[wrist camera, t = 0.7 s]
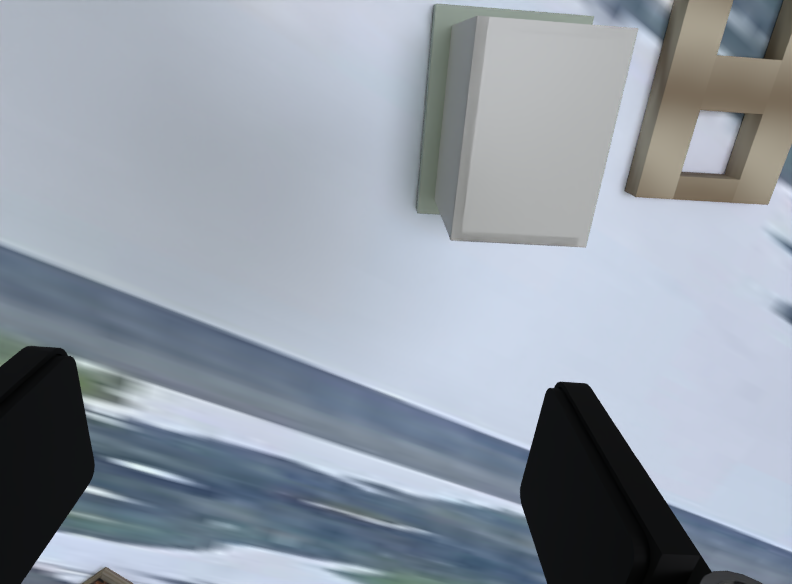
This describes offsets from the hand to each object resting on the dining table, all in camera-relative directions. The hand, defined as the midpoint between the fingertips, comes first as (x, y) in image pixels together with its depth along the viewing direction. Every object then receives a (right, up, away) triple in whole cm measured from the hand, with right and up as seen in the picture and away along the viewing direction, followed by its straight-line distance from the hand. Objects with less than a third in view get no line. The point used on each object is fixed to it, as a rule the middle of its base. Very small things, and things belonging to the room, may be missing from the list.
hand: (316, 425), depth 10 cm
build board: (+22, +16, +21) cm, 34 cm away
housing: (+8, +13, +21) cm, 26 cm away
